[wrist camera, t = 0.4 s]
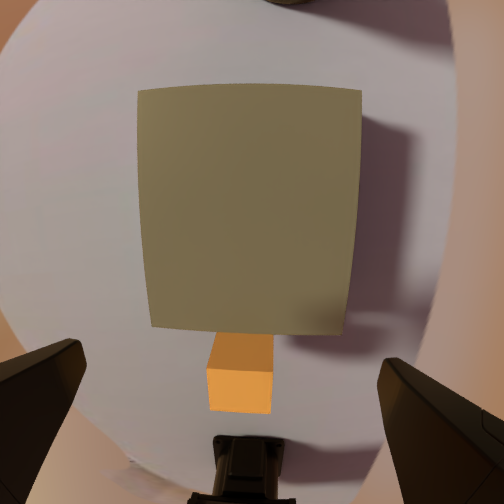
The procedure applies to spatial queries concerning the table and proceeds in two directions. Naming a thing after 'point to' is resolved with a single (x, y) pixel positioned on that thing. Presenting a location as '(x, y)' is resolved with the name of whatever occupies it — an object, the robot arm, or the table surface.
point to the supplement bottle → (291, 1)
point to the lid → (248, 220)
